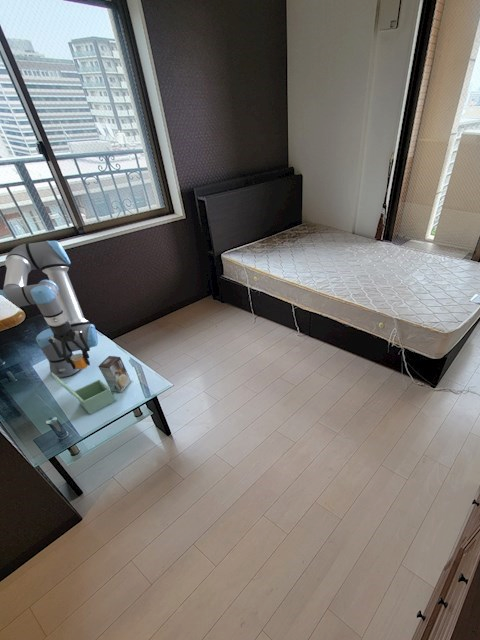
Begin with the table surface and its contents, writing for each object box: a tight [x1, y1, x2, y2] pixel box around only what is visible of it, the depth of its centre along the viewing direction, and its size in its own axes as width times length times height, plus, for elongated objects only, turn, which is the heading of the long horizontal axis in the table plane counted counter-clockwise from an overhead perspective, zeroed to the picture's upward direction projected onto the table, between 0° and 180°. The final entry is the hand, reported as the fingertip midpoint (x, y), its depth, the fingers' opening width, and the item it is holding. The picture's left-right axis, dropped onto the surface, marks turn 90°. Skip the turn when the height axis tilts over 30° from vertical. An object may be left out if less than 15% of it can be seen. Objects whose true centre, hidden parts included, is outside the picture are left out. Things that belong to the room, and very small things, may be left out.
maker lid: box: [50, 372, 83, 402], centre depth 154 cm, size 13×11×1 cm
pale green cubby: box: [73, 379, 116, 415], centre depth 166 cm, size 13×11×8 cm
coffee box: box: [97, 355, 132, 393], centre depth 172 cm, size 9×6×16 cm
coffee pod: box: [70, 352, 88, 370], centre depth 161 cm, size 6×6×6 cm
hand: (81, 365), depth 162 cm, fingers closed on coffee pod, 6 cm apart
